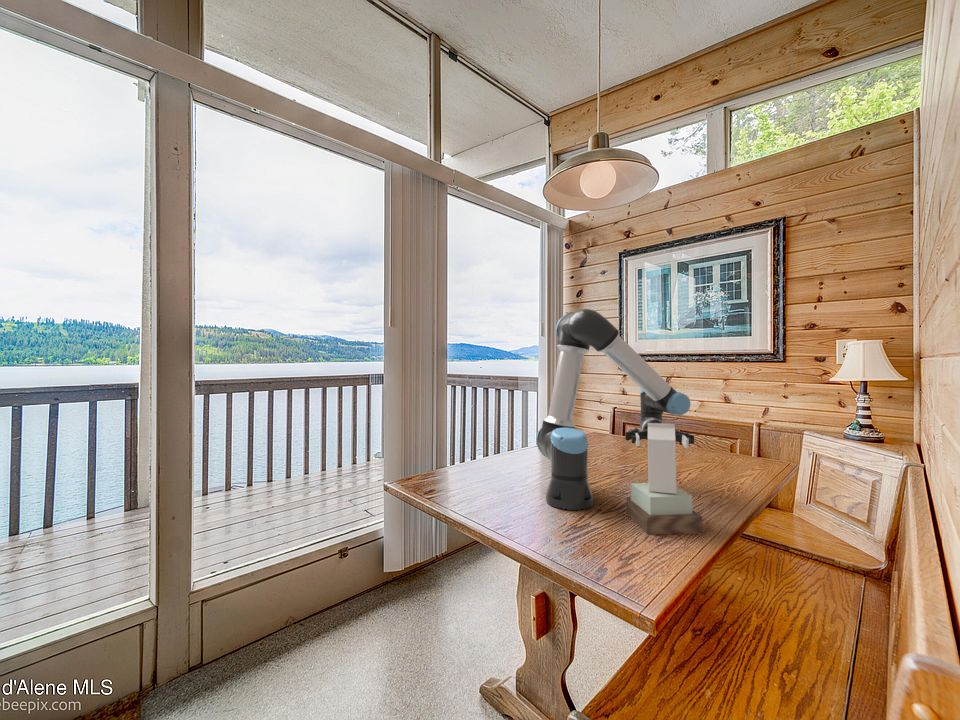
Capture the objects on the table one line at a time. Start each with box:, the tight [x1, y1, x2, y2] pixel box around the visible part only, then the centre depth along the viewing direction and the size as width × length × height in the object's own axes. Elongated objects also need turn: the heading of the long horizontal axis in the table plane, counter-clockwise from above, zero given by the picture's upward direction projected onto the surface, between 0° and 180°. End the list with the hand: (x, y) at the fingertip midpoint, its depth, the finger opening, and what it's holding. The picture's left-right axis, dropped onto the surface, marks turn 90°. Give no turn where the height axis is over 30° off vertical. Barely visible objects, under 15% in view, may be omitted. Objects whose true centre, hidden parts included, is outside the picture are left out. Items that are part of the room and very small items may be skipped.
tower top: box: [630, 482, 693, 516], centre depth 119 cm, size 12×12×5 cm
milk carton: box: [647, 422, 677, 494], centre depth 118 cm, size 7×7×19 cm
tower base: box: [626, 497, 703, 535], centre depth 119 cm, size 15×15×5 cm
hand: (662, 442), depth 124 cm, fingers open, 13 cm apart
